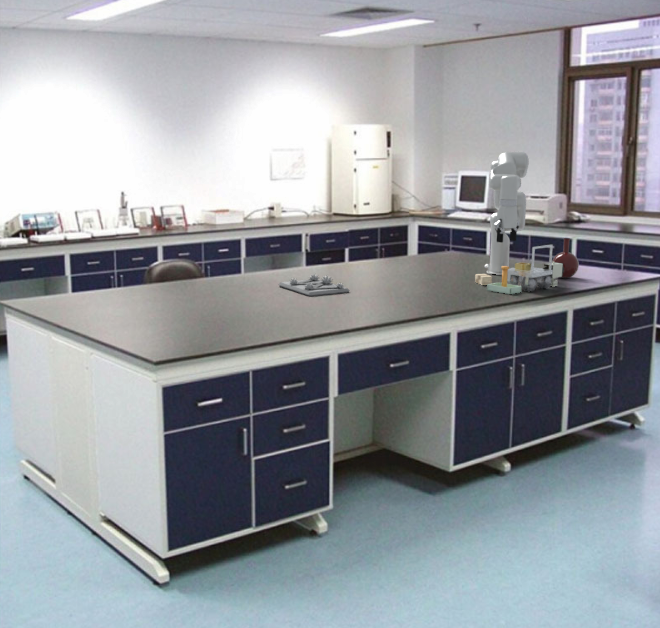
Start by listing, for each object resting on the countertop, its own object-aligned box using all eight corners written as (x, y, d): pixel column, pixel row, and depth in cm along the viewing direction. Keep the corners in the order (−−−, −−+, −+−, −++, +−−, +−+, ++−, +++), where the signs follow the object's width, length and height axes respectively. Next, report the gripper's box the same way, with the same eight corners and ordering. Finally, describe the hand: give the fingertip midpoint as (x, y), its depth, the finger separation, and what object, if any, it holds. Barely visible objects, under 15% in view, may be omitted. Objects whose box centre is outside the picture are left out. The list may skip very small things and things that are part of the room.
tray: (486, 290, 406) (487, 284, 406) (497, 288, 412) (498, 282, 411) (510, 294, 397) (510, 288, 396) (521, 292, 402) (521, 286, 402)
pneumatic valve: (563, 285, 421) (565, 261, 418) (549, 288, 413) (550, 263, 411) (553, 284, 425) (555, 259, 422) (539, 287, 417) (540, 261, 415)
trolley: (501, 288, 414) (504, 243, 409) (522, 284, 424) (524, 241, 420) (532, 293, 401) (534, 247, 397) (552, 289, 412) (555, 244, 408)
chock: (475, 283, 427) (475, 274, 426) (484, 282, 428) (484, 273, 427) (481, 286, 420) (482, 276, 419) (491, 285, 421) (492, 276, 420)
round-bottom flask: (583, 279, 441) (586, 239, 437) (564, 281, 435) (567, 240, 430) (564, 275, 452) (566, 236, 448) (545, 277, 446) (547, 237, 442)
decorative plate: (277, 287, 413) (277, 272, 412) (317, 283, 424) (317, 269, 423) (309, 298, 388) (309, 282, 387) (350, 293, 399) (350, 278, 398)
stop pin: (498, 290, 404) (499, 266, 402) (503, 289, 406) (504, 265, 404) (504, 291, 402) (506, 267, 399) (509, 290, 404) (510, 266, 402)
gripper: (513, 202, 404) (511, 239, 408) (489, 203, 393) (487, 242, 397) (526, 203, 399) (524, 240, 403) (503, 205, 388) (501, 243, 391)
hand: (506, 241), depth 400 cm, fingers open, 9 cm apart
